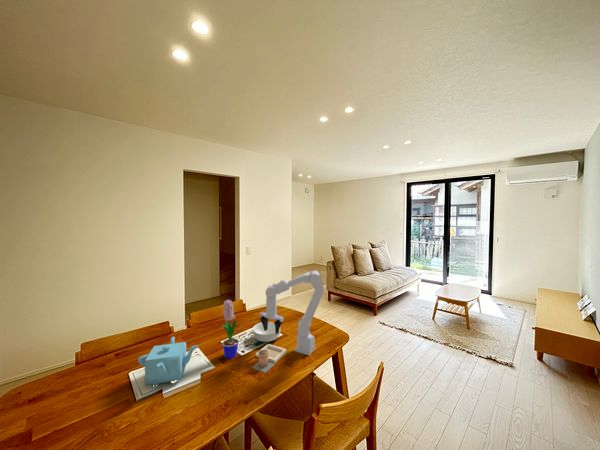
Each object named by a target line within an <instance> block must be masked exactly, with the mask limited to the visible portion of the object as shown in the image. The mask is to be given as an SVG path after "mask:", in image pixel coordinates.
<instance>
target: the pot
mask: <svg viewBox="0 0 600 450" xmlns="http://www.w3.org/2000/svg"><path fill="white" fill-rule="evenodd" d="M257 352H258V355H259V357H258V362H259V366H260V367H266V366H268V355H269V351H268V350H261V349H260V350H258V351H257Z"/></svg>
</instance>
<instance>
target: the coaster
mask: <svg viewBox="0 0 600 450" xmlns="http://www.w3.org/2000/svg"><path fill="white" fill-rule="evenodd" d="M274 365H276V362H275V363H274V362H271V361H268V366H266V367H260V366H259V361H258V362H257V363H255V365H253V366H252V369H254V370H257V371H259V372H261V373H264V374H266V373H267V372H269V371H270V369H271V368H273V366H274Z"/></svg>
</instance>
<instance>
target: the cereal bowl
mask: <svg viewBox="0 0 600 450" xmlns="http://www.w3.org/2000/svg"><path fill="white" fill-rule="evenodd" d="M274 322H275V321H274ZM274 322H273V321H268V329H267V330H266V331H264V327H263V324H262V322H259V323H256V324H255V325H254V326H253V327H252V335H253V338H255V340H257V341H259V342H263V343H267V342H272V341H275V340H276V339H277V338H279V336H280V334H281V328H280V329H279V333H278V334H276V333H275V324H274Z"/></svg>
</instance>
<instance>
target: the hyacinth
mask: <svg viewBox="0 0 600 450" xmlns="http://www.w3.org/2000/svg"><path fill="white" fill-rule="evenodd" d="M222 305H223V309H222V313H223V319H224V320H225V323H224V324H221V326H222V327H223V329H224V330H225V332H226V334H227V336H228V338H227V339H224V340H223V342H222V347H223V355H224V358H226V359H233V358H235V357H236V356H237V355H238V346H239V339H238V338H235V337H233V335H234V333H235V331H236V330H237V328H239V327H240V326H241V325H242V323H240V324H238V325H237V326H236V324H237V319H236V317H235V314H234V310H235V309H234V305H233V301H232V300H230V299H226V300H225V301H223V303H222ZM233 319H235V320H234V321H233V323H232V322H231V321H232V320H233Z"/></svg>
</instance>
